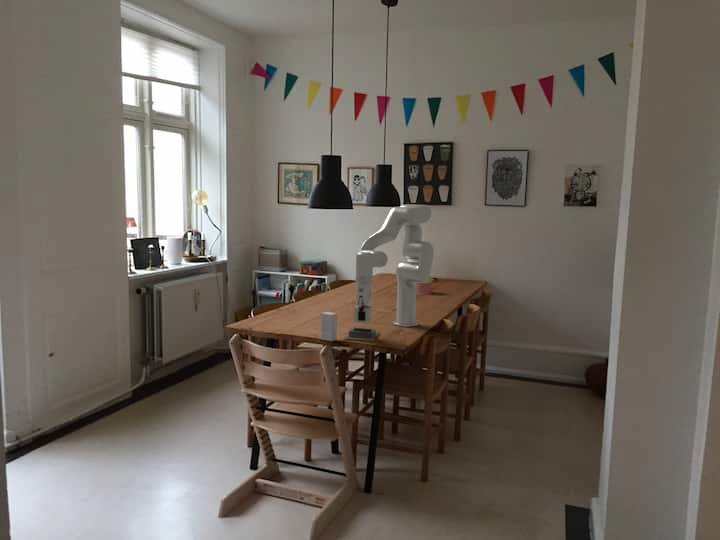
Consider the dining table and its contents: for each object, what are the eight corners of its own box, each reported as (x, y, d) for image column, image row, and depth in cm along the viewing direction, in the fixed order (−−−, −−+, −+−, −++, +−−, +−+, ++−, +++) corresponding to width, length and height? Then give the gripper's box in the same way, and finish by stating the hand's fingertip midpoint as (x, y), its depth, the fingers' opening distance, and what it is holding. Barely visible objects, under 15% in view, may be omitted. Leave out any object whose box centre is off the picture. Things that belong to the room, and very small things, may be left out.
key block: (371, 321, 261) (371, 306, 260) (369, 323, 257) (369, 307, 256) (356, 320, 263) (356, 304, 262) (354, 322, 259) (354, 306, 258)
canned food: (434, 293, 382) (435, 275, 380) (423, 295, 374) (424, 276, 372) (422, 291, 390) (422, 273, 388) (410, 292, 382) (411, 274, 380)
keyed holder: (352, 331, 270) (352, 325, 270) (379, 333, 267) (379, 327, 267) (343, 339, 255) (344, 333, 254) (372, 342, 252) (372, 335, 251)
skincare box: (337, 339, 254) (337, 313, 253) (331, 341, 251) (331, 314, 249) (326, 337, 258) (326, 311, 256) (320, 339, 254) (320, 312, 252)
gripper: (368, 282, 248) (366, 324, 251) (375, 277, 265) (374, 316, 267) (351, 281, 250) (350, 322, 253) (360, 276, 266) (359, 314, 269)
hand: (362, 318), depth 260 cm, fingers closed on key block, 4 cm apart
